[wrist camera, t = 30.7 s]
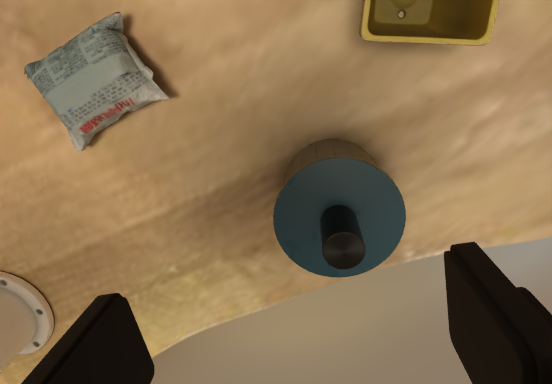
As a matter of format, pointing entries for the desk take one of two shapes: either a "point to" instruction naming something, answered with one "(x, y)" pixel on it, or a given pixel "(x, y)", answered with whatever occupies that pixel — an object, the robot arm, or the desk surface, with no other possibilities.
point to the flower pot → (429, 21)
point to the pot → (326, 154)
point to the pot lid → (339, 217)
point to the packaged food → (94, 80)
